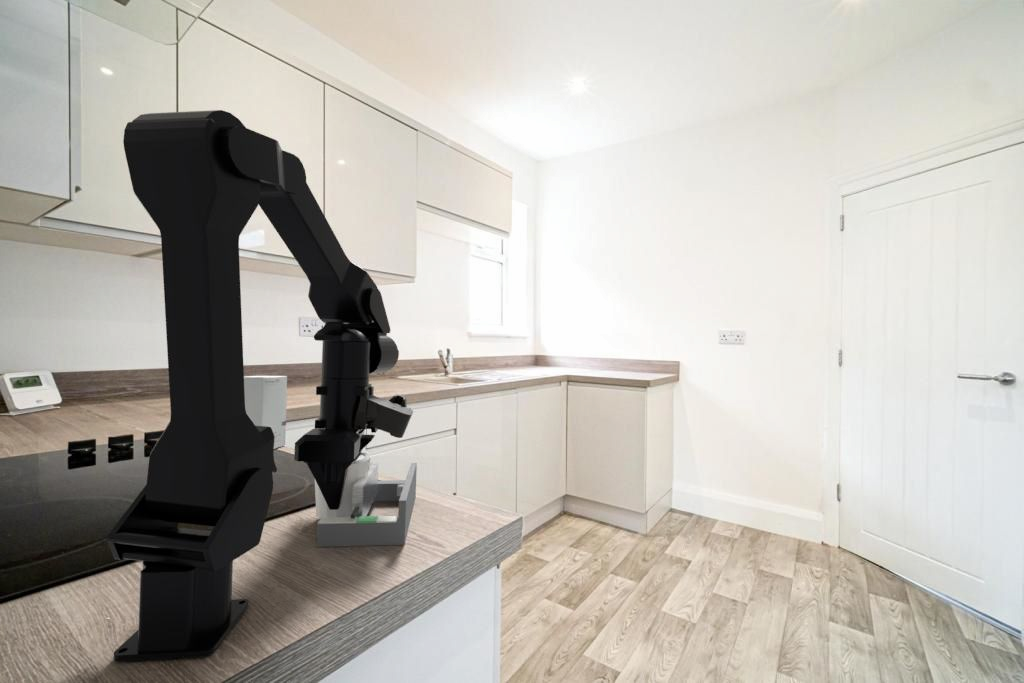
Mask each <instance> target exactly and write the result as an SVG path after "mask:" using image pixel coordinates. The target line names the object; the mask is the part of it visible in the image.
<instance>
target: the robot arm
mask: <svg viewBox="0 0 1024 683" xmlns="http://www.w3.org/2000/svg"><path fill="white" fill-rule="evenodd" d="M123 132H124V133H123V140H122V142H123V150H124V153H125V158H126V163H127V167H128V168H127V169H128V172H129V177H130V182H131V185H132V186H131V187H132V190H133V193H134V195H135V196H136V198H137V199H138V201H139V202H140V203H141V205H142V207H143V208H144V210H145V211H146V212H147V214H148V215H149V216H150V218H151V219H152V221H153V222H154V223H155V225H156V227H157V229H158V230H159V234H160V239H161V240H160V241H161V256H162V262H161V263H162V275H163V276H162V277H163V279H162V280H163V294H164V295H163V297H164V313H165V314H164V315H165V330H166V331H165V332H166V347H167V348H166V349H167V366H168V368H167V369H168V370H167V371H168V383H169V402H170V403H169V404H170V420H169V422H168V424H167V425H166V427H165V429H164V430H163V432H162V434H161V435H160V436H159V439H158V440H157V441H156V443H155V445H154V446H153V448H152V450H151V452H150V454H149V456H148V457H149V458H148V469H147V475H146V476H147V478H146V484H145V486H144V487H143V488H142V489H141V491H140V492H139V494H138V495H137V496H136V498H135V499H134V500H133V502H132V503H131V504H130V505H129V507H128V508H127V509H126V510H125V512H124V513H123V515H122V516H121V517H120V519H119V520H118V521H117V523H116V524H115V525H114V527H113V528H112V529H111V531H109V533H108V535H107V537H106V542H107V544H108V545H107V546H108V547H109V549H110V552H111V555H112V557H113V559H114V560H120V561H122V560H131V561H139V562H142V569H141V570H140V575H139V576H140V578H139V579H140V580H139V603H138V604H139V606H138V629H137V630H136V631H135V632H133V634H132V635H131V636H130V637H128V638H127V639H126V640H125V641H124V642H123V643H122V644H121V645H120V646H119V647H117V648H116V649H115V651H113V658H112V659H113V661H114V662H125V661H126V662H128V661H129V662H130V661H144V660H145V661H147V660H163V659H166V660H167V659H183V658H203V657H207V656H210V655H212V654H213V653H214V652H215V651H216V650H217V648H218V647H219V646H220V644H222V642H223V641H224V639H225V638H226V637H227V635H229V633H230V632H231V630H232V629H233V627H234V626H235V625H236V624H237V622H238V621H239V620H240V619H241V618H242V616H243V615H244V613H245V612H246V611H247V609H248V608H249V606H250V600H249V599H248V598H239V599H238V598H236V599H235V598H233V596H232V595H233V571H234V570H233V568H234V565H233V564H234V561H235V560H236V559H238V558H240V557H241V556H243V555H244V554H246V553H248V552H249V551H251V550H253V549H254V548H255V547H257V546H259V544H260V542H261V538H262V534H263V531H264V526H265V522H266V519H267V518H266V517H267V516H268V515H267V514H268V511H269V507H270V503H271V498H272V495H273V490H274V480H273V479H274V478H273V476H274V475H273V473H275V474H276V473H277V471H278V469H277V466H276V462H275V456H274V454H275V453H274V450H275V449H274V438H275V437H274V434H273V431H272V429H271V427H267V426H255V425H254V423H253V422H252V421H251V419H250V418H249V416H248V415H247V414H246V410H245V393H244V376H245V370H244V348H243V346H244V344H243V343H244V342H243V324H242V322H243V321H242V320H243V318H242V317H243V316H242V296H241V295H242V294H241V291H242V290H241V270H240V269H241V268H240V245H239V244H240V243H239V241H240V236H241V234H242V232H243V230H244V229H245V227H246V226H247V224H248V223H249V221H250V219H251V217H252V216H253V214H254V213H255V211H256V210H257V208H258V206H259V207H260V209H261V210H262V212H263V213H264V215H265V216H266V217H267V219H268V220H269V222H270V223H271V225H272V227H273V229H274V230H275V231H276V232H277V234H278V235H279V237H280V238H281V239H282V241H283V243H284V244H285V246H286V248H287V249H288V251H289V252H290V253H291V255H292V256H293V258H294V259H295V261H296V263H297V264H298V265H299V267H300V268H301V269H302V271H303V273H304V274H305V276H306V278H307V280H308V282H309V289H308V294H307V295H308V296H307V297H308V299H309V302H310V303H311V305H312V307H313V310H314V312H315V313H316V315H317V317H318V319H320V321H322V323H324V326H323V327H322V328H320V329H319V330H317V331H316V333H315V334H314V335H313V340H315V341H319V342H322V347H321V348H322V352H321V354H322V355H321V374H320V375H321V377H320V380H321V381H320V384H319V385H317V386H316V387H315V388H316V390H315V395H316V396H320V403H319V404H320V405H319V417H318V418H316V419H315V420H314V428H312V429H311V430H309V431H308V432H306V433H304V434H303V435H302V436H301V437H300V438H298V439H297V441H296V442H295V441H294V457H293V458H294V461H296V462H303V463H306V465H307V467H308V469H309V470H310V471H309V472H311V474H312V476H313V478H315V479H314V481H315V480H316V482H317V484H318V486H319V488H320V490H321V492H322V495H323V497H324V499H325V501H326V503H327V505H328V507H329V509H330V510H337V509H339V507H340V503H341V499H342V495H343V490H344V485H345V480H346V475H347V471H348V467H349V466H350V465H351V464H352V463H353V462H355V461H356V460H357V459H358V457H359V456H360V455H361V453H363V452H362V451H363V450H364V448H365V447H366V446H368V445H369V444H370V442H372V441H373V440H374V438H375V436H376V435H375V434H373V433H377V432H378V430H380V431H383V432H385V433H388V434H389V435H390V436H391V437H395V438H398V439H402V438H403V436H404V434H405V433H406V430H407V427H408V426H409V424H410V421H411V418H412V415H413V413H414V410H412V408H411V407H407V398H406V397H405V396H403V395H400V394H398V393H396V394H395V395H393V396H392V397H391V398H389V400H388V399H386V398H384V397H383V398H381V397H378V396H375V395H374V390H375V389H374V388H375V387H374V386H372V383H370V375H371V374H373V375H374V374H379V373H386V372H388V371H390V370H392V369H393V368H394V367H395V366H396V365H397V363H398V360H399V355H400V351H399V350H400V349H399V348H398V345H397V343H396V342H395V340H394V339H393V338H391V337H390V336H388V334H390V333H391V327H390V322H389V318H388V314H387V311H386V307H385V304H384V300H383V296H382V293H381V291H380V290H379V289H378V286H377V284H376V283H375V282H374V280H373V279H372V277H371V276H370V274H369V273H368V272H367V271H366V270H365V269H364V268H362V267H360V266H359V265H357V264H355V263H354V262H352V261H351V260H350V259H349V258H348V256H347V255H346V253H345V252H344V249H343V247H342V245H341V244H340V242H339V240H338V238H337V236H336V234H335V232H334V231H333V229H332V227H331V225H330V224H329V221H328V220H327V218H326V216H325V214H324V212H323V211H322V209H321V207H320V205H319V204H318V202H317V200H316V198H315V196H314V194H313V192H312V190H311V188H310V186H309V185H308V182H307V175H306V170H305V167H304V165H303V161H301V159H300V158H299V156H297V155H295V154H294V153H291V152H288V151H285V150H283V149H282V147H281V145H280V143H279V141H278V140H277V139H275V138H272V137H270V136H267V135H265V134H262V133H259V132H257V131H255V130H251V129H250V128H247V127H246V125H244V123H243V122H242V121H241V120H240V119H239V118H238V117H236V115H234V114H233V113H231V112H228V111H225V110H221V109H217V110H215V109H214V110H213V109H212V110H195V111H194V110H193V111H191V110H190V111H170V112H167V111H166V112H149V113H144V114H143V113H141V114H139V115H138V116H137V117H135V118H134V119H133V120H132V121H128V122H127V124H126V126H125V128H124V131H123ZM365 430H370V431H371V434H365ZM359 452H361V453H359ZM179 524H187V525H195V526H207V527H213V529H212V530H205V529H195V528H184V527H178V526H179ZM232 598H233V599H232Z"/></svg>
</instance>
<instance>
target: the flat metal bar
mask: <svg viewBox="0 0 1024 683" xmlns="http://www.w3.org/2000/svg"><path fill="white" fill-rule="evenodd" d="M378 480H379V461H370V465H369V473H368V474H367V475H366V476H364V477H361V478H359V479H358V480H357V481H356V483H355V484H354V486H353V489H352V514H351V519H354V518H355V517H359V516H368V514H369V511H370V510H371V507H372V505H373V503H374V502H375V501H374V499H375V497H376V495H377V490H378Z"/></svg>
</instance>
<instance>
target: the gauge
mask: <svg viewBox="0 0 1024 683" xmlns="http://www.w3.org/2000/svg"><path fill="white" fill-rule="evenodd" d="M417 465H418V464H417V462H412V463H410V466H409V469H408V472H407V475H406V478H405V479H404V480H403V479H397V480H396V479H391V480H389V479H386V480H385V479H383V480H382V479H381V480H379V479H378V490H377V495H376V497H375V499H374V501H373V502H398V511H397V513H398V515H396V516H395V515H393V516H392V515H391V516H390V515H388V516H387V515H386V516H385V515H384V516H379V515H367V516H359V517H355V518H354V519H351V517H321V518H319V520H318V521H317V524H316V527H317V528H316V548H323V547H324V548H326V547H327V548H328V547H330V548H331V547H359V546H360V547H364V546H365V547H368V546H370V547H371V546H402V545H403V546H405V544H406V540H407V536H408V531H409V527H410V524H411V519H412V514H413V510H414V507H415V506H414V505H415V501H416V494H417V493H416V492H417V472H418V471H417V470H418V469H417V468H418V467H417Z"/></svg>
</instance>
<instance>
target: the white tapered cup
mask: <svg viewBox="0 0 1024 683" xmlns="http://www.w3.org/2000/svg"><path fill="white" fill-rule="evenodd" d="M359 453H361V455H360V456H359V457H358V459H357V460H356V461H355V462H353V463H352V464H351V465H350V466H349V467H348V471H347V475H346V480H345V485H344V490H343V495H342V499H341V503H340V507H339V509H337V510H330V509H329V507H328V505H327V503H326V501H325V499H324V497H323V495H322V492H321V490H320V488H319V486H318V484H317V482H316V480H315V478H314V477H313V478H314V494H315V495H314V496H315V497H314V498H315V512H316V513H315V514H316V517H318V518H319V519H320V518H321V517H351V514H352V489H353V486H354V484H355V483H356V481H357V480H358V479H359V478H361V477H364V476H366V475H367V474H368V473H369V465H370V462H371V455H370V454H368V453H366V452H359Z"/></svg>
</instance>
